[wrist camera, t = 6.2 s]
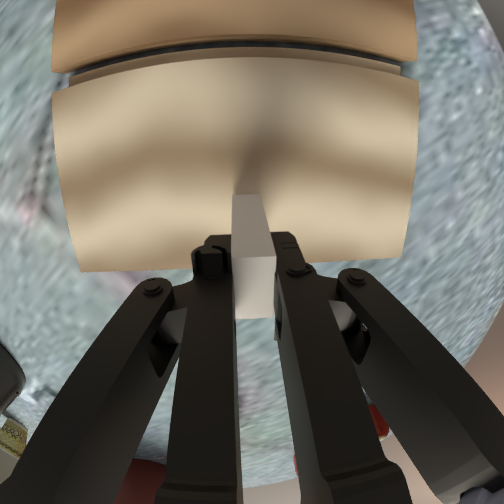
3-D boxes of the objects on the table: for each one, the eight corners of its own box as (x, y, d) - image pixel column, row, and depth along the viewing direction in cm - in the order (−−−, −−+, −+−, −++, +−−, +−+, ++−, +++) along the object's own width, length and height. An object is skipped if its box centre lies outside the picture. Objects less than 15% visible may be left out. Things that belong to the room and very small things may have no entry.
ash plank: (388, 244, 19) (400, 257, 18) (92, 258, 18) (81, 272, 16) (401, 72, 14) (418, 69, 12) (68, 83, 13) (51, 81, 11)
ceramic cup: (18, 419, 39) (8, 450, 31) (39, 437, 44) (31, 466, 36) (-9, 407, 39) (-19, 434, 30) (11, 425, 44) (3, 451, 35)
